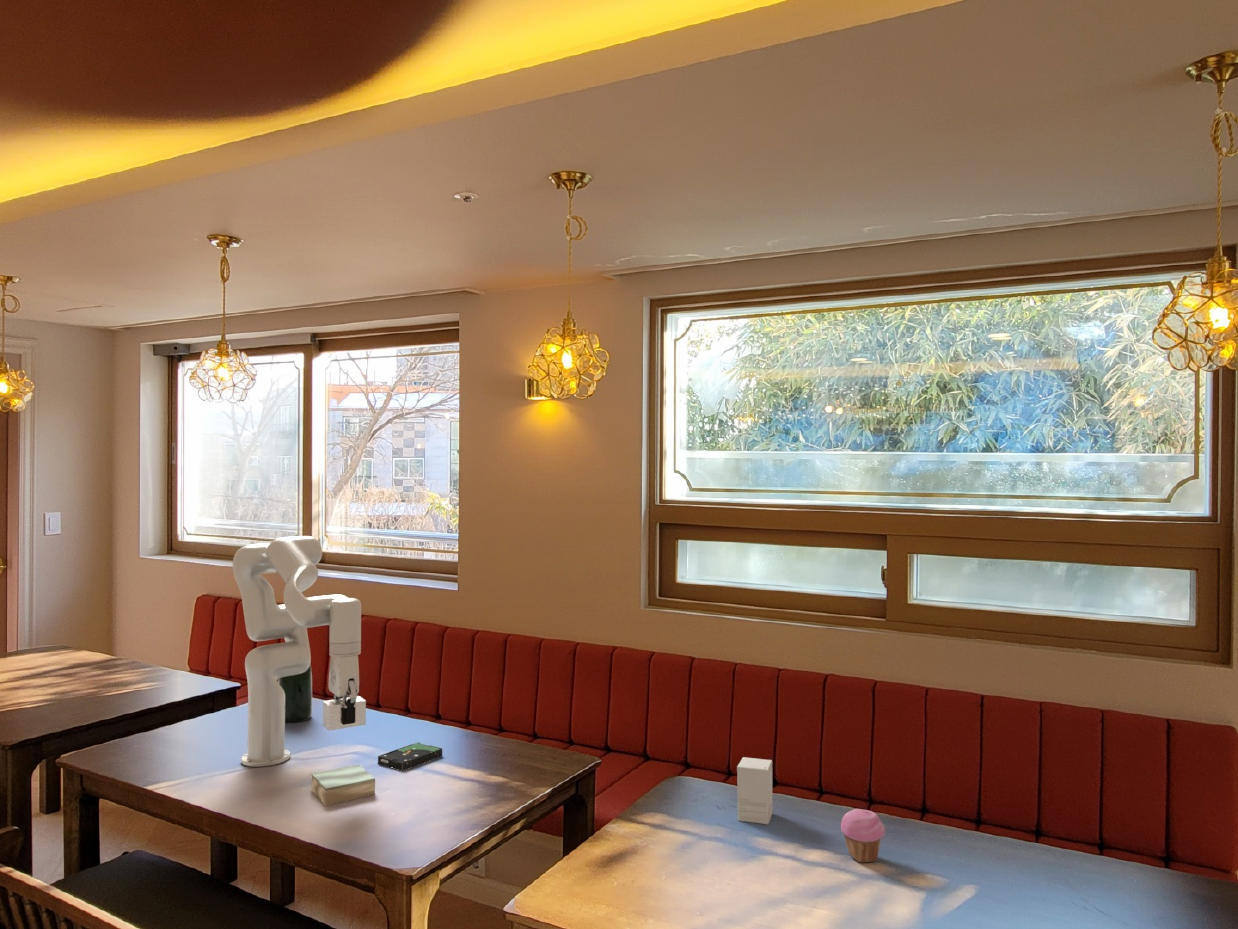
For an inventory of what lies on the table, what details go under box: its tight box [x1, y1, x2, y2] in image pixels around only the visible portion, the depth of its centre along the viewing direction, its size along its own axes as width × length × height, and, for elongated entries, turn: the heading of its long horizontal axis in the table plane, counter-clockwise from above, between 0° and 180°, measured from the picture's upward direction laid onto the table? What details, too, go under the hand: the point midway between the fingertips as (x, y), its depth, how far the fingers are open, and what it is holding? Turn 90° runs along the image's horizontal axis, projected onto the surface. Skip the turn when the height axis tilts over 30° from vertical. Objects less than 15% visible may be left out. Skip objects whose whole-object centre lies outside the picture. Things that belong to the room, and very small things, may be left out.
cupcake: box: [840, 808, 886, 863], centre depth 172 cm, size 9×9×10 cm
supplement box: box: [736, 756, 774, 825], centre depth 193 cm, size 7×7×13 cm
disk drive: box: [377, 742, 443, 772], centre depth 230 cm, size 10×3×15 cm
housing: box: [322, 695, 367, 732], centre depth 206 cm, size 9×6×6 cm, turn 124°
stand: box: [311, 764, 376, 806], centre depth 206 cm, size 12×12×4 cm
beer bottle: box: [277, 663, 313, 724], centre depth 268 cm, size 10×10×33 cm
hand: (344, 720), depth 206 cm, fingers closed on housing, 5 cm apart
